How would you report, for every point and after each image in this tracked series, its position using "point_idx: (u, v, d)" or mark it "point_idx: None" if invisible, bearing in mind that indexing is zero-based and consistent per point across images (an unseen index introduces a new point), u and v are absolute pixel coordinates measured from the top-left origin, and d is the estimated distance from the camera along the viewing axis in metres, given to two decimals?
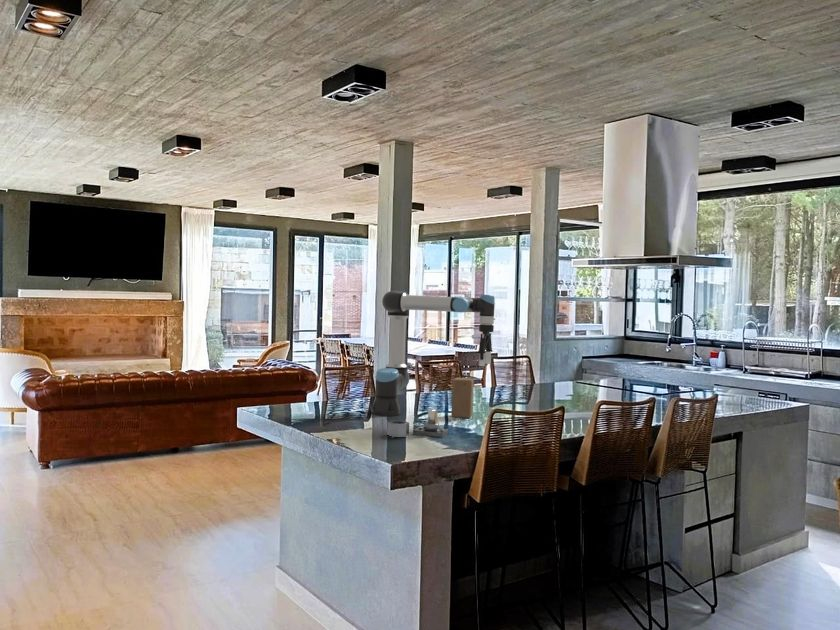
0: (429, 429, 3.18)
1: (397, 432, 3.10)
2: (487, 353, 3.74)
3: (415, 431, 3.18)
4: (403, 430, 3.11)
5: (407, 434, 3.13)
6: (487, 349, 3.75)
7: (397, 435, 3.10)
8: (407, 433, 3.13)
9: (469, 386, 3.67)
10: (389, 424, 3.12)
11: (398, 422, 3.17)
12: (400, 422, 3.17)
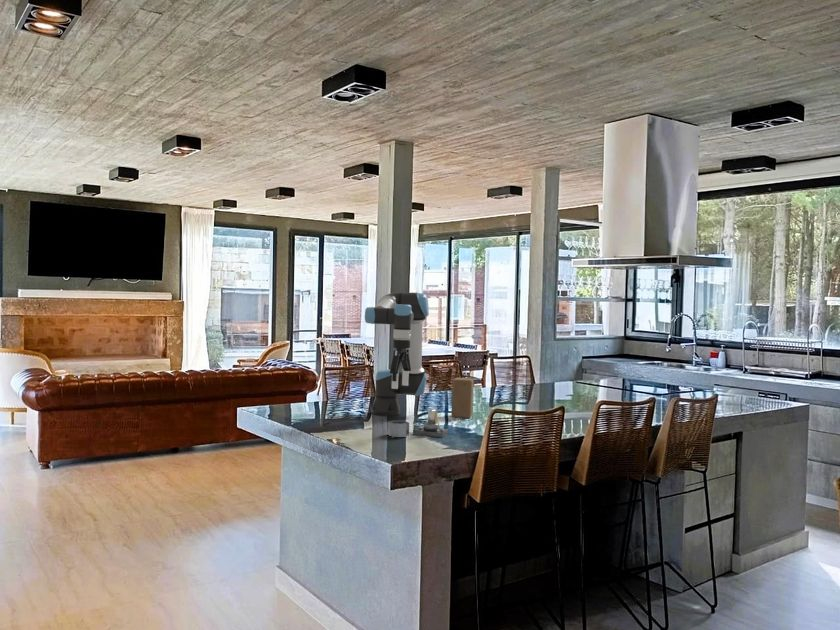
0: (429, 429, 3.18)
1: (397, 432, 3.10)
2: (404, 373, 3.20)
3: (415, 431, 3.18)
4: (403, 430, 3.11)
5: (407, 434, 3.13)
6: (405, 368, 3.21)
7: (397, 435, 3.10)
8: (407, 433, 3.13)
9: (469, 386, 3.67)
10: (389, 424, 3.12)
11: (398, 422, 3.17)
12: (400, 422, 3.17)
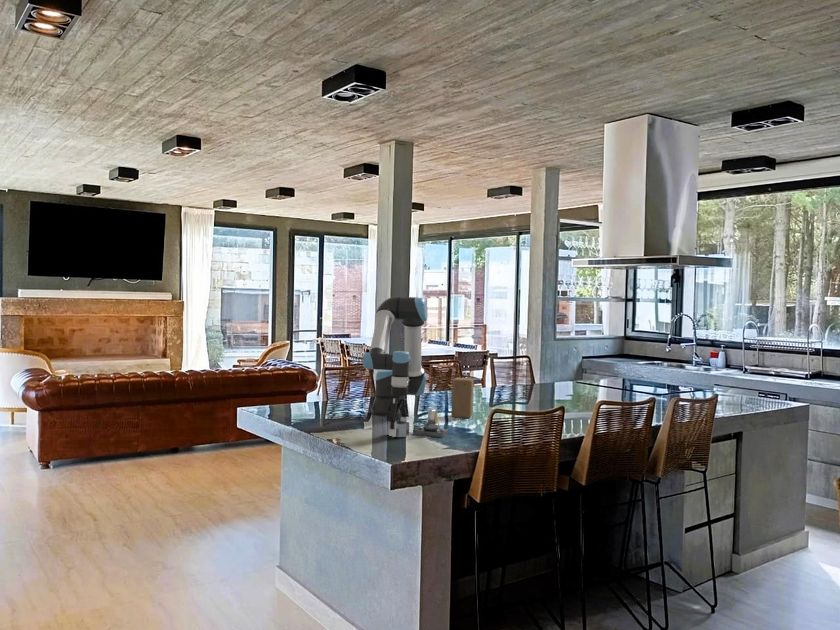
0: (429, 429, 3.18)
1: (397, 432, 3.10)
2: (402, 419, 3.20)
3: (415, 431, 3.18)
4: (403, 430, 3.11)
5: (407, 434, 3.13)
6: (403, 414, 3.21)
7: (397, 435, 3.10)
8: (407, 433, 3.13)
9: (469, 386, 3.67)
10: (389, 424, 3.12)
11: (398, 422, 3.17)
12: (400, 422, 3.17)
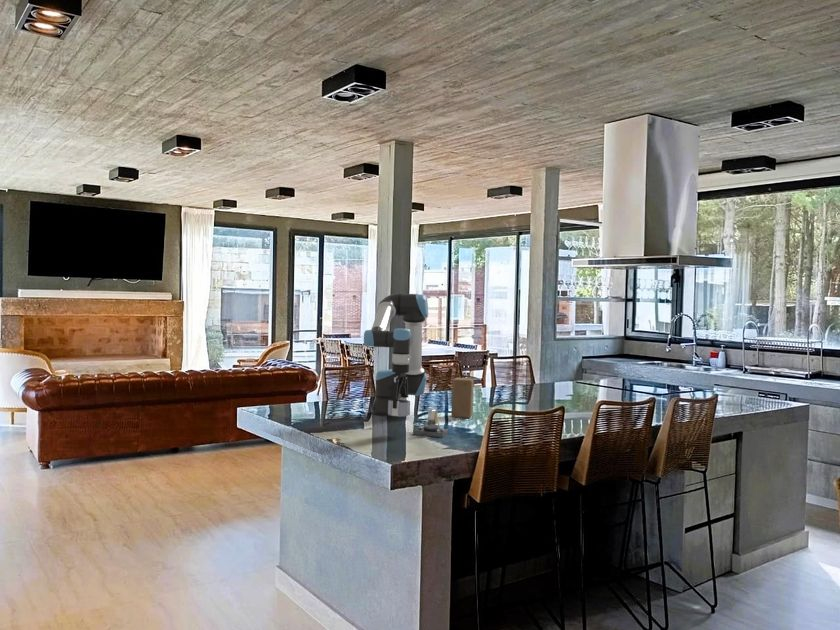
0: (429, 429, 3.18)
1: (398, 411, 3.10)
2: (402, 399, 3.19)
3: (415, 431, 3.18)
4: (404, 409, 3.11)
5: (408, 413, 3.13)
6: (402, 394, 3.20)
7: (398, 414, 3.10)
8: (408, 411, 3.13)
9: (469, 386, 3.67)
10: (390, 403, 3.12)
11: (399, 401, 3.18)
12: (401, 401, 3.17)
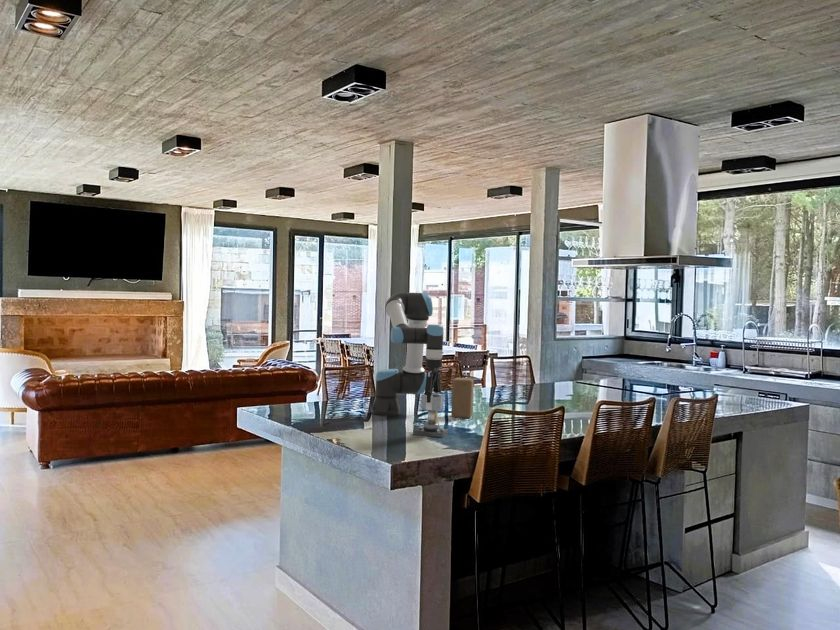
0: (429, 429, 3.18)
1: (432, 405, 3.16)
2: (435, 394, 3.25)
3: (415, 431, 3.18)
4: (437, 403, 3.17)
5: (441, 407, 3.19)
6: (435, 390, 3.26)
7: (432, 408, 3.16)
8: (441, 405, 3.19)
9: (469, 386, 3.67)
10: (424, 397, 3.18)
11: None
12: (434, 396, 3.23)
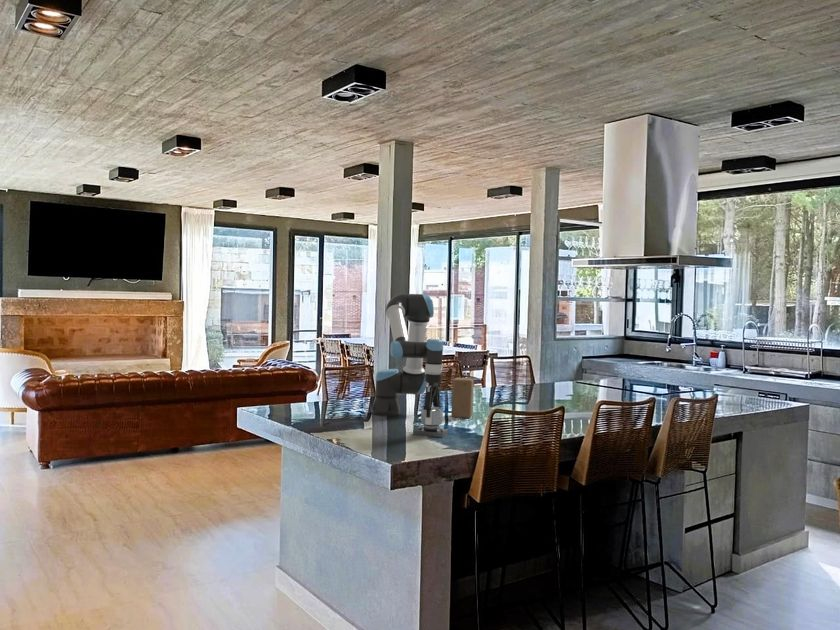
0: (429, 429, 3.18)
1: None
2: None
3: (415, 431, 3.18)
4: (437, 417, 3.17)
5: (441, 421, 3.19)
6: (434, 404, 3.26)
7: None
8: (441, 420, 3.19)
9: (469, 386, 3.67)
10: (423, 412, 3.19)
11: None
12: None
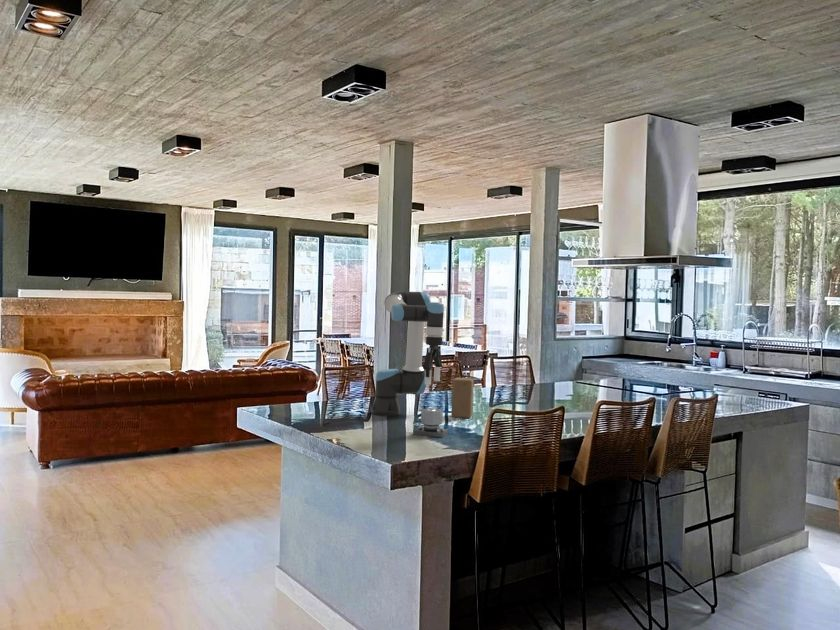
0: (429, 429, 3.18)
1: (431, 419, 3.16)
2: (436, 369, 3.28)
3: (415, 431, 3.18)
4: (437, 417, 3.17)
5: (441, 421, 3.19)
6: (436, 364, 3.29)
7: (431, 422, 3.16)
8: (441, 420, 3.19)
9: (469, 386, 3.67)
10: (423, 412, 3.19)
11: None
12: None
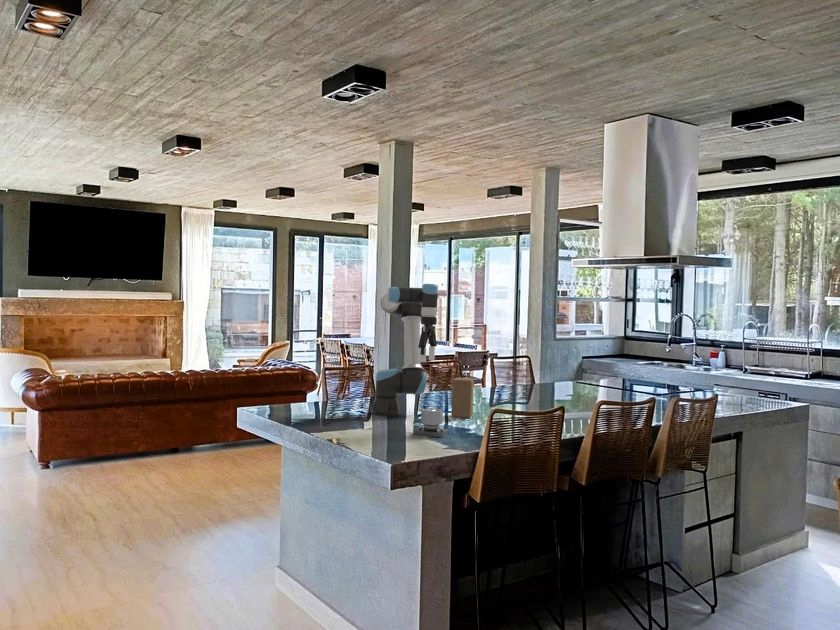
0: (429, 429, 3.18)
1: (431, 419, 3.16)
2: (431, 348, 3.43)
3: (415, 431, 3.18)
4: (437, 417, 3.17)
5: (441, 421, 3.19)
6: None
7: (431, 422, 3.16)
8: (441, 420, 3.19)
9: (469, 386, 3.67)
10: (423, 412, 3.19)
11: None
12: None
